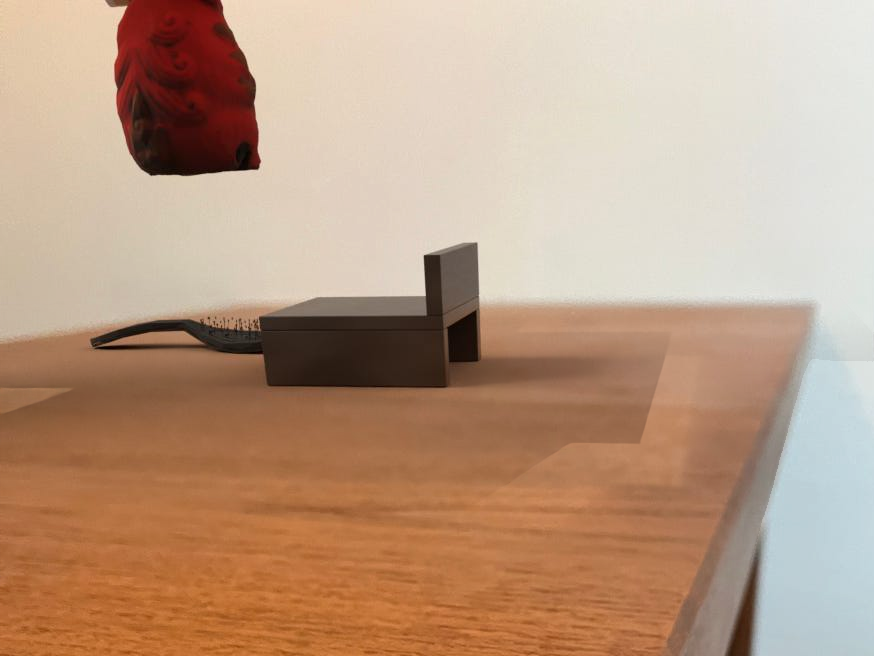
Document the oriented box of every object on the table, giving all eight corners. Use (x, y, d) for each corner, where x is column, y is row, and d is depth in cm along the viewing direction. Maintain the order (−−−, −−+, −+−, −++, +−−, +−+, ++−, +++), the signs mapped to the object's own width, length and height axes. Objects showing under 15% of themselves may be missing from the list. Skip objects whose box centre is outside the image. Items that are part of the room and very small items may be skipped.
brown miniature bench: (266, 385, 75) (250, 258, 71) (322, 358, 86) (311, 245, 82) (446, 387, 72) (440, 254, 69) (481, 358, 83) (477, 242, 79)
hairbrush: (109, 310, 99) (350, 293, 94) (118, 349, 100) (355, 333, 95) (62, 323, 91) (322, 305, 86) (73, 364, 93) (328, 348, 88)
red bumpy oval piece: (292, 172, 55) (257, -167, 49) (208, 174, 49) (156, -209, 43) (185, 176, 58) (139, -142, 52) (94, 179, 53) (30, -177, 46)
